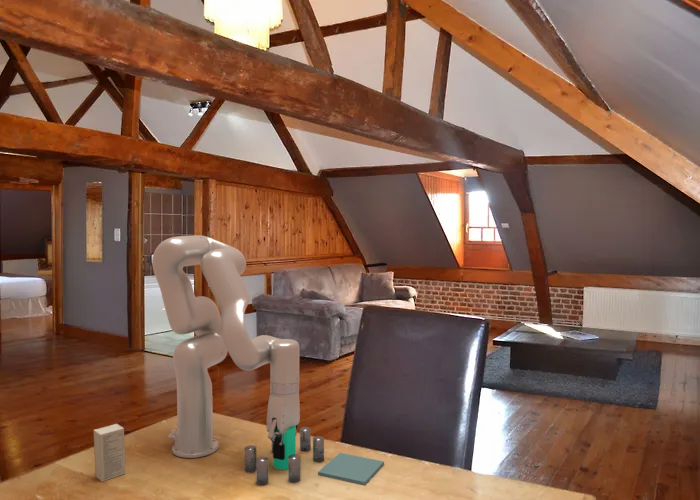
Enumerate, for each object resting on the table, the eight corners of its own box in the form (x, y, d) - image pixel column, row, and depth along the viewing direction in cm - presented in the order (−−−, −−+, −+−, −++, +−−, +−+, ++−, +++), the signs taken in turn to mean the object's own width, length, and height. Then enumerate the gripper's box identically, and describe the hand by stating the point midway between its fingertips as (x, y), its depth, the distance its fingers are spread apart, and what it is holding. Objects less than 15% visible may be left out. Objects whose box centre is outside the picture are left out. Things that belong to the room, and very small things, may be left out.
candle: (291, 470, 150) (292, 425, 149) (269, 468, 151) (269, 423, 150) (298, 460, 156) (298, 417, 155) (277, 458, 157) (277, 415, 156)
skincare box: (118, 468, 151) (117, 423, 150) (126, 474, 147) (125, 427, 147) (93, 476, 146) (92, 429, 145) (100, 482, 143) (99, 434, 142)
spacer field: (231, 478, 145) (231, 455, 145) (283, 442, 168) (283, 422, 168) (287, 491, 139) (287, 467, 138) (333, 452, 161) (333, 431, 161)
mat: (317, 475, 148) (317, 471, 148) (339, 455, 159) (339, 452, 159) (364, 485, 142) (364, 482, 142) (383, 464, 154) (384, 461, 154)
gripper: (288, 376, 161) (288, 440, 162) (254, 394, 146) (254, 464, 147) (312, 380, 158) (312, 445, 159) (280, 398, 143) (279, 470, 144)
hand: (284, 453), depth 153 cm, fingers closed on candle, 4 cm apart
